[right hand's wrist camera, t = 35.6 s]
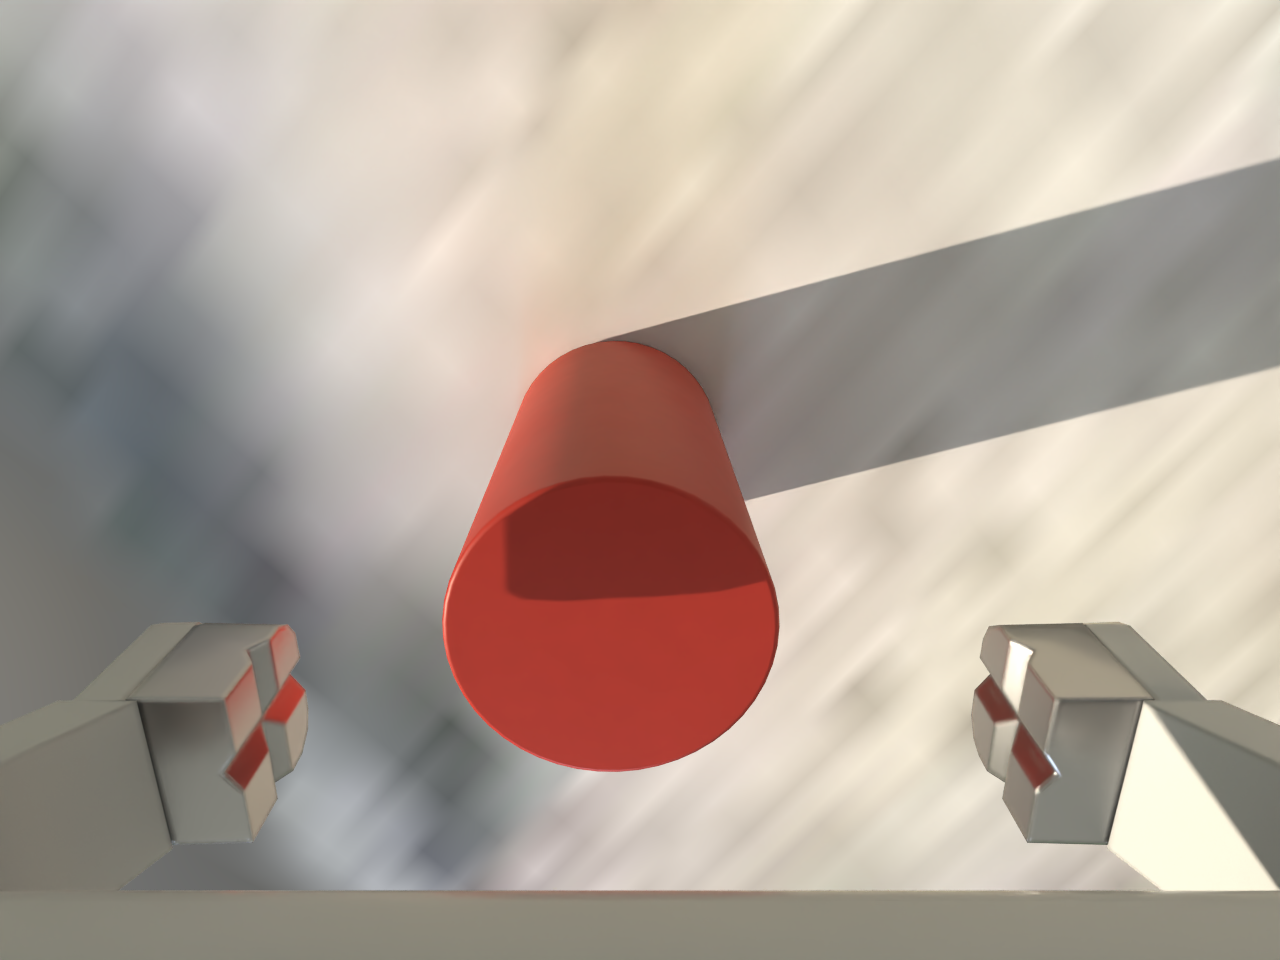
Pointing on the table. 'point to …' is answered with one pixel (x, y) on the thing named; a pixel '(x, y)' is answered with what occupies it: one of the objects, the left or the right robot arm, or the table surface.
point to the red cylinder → (612, 571)
